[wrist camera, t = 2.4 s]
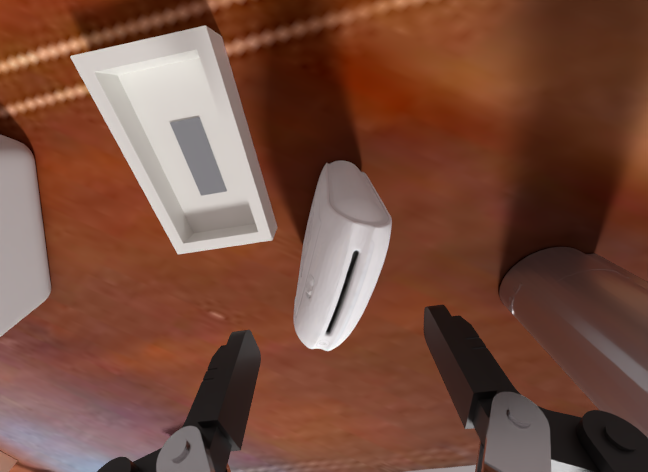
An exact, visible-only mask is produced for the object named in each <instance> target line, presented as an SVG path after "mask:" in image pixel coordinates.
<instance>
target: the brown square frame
mask: <svg viewBox="0 0 648 472" xmlns="http://www.w3.org/2000/svg"><path fill="white" fill-rule="evenodd" d="M16 462H17V460H15V459H14V458H12V457H10V456H8V455H6V454H5V453H3V452H1V451H0V472H9V471H10V469H11V468H12V467H13V466H14V465H15V464H16Z"/></svg>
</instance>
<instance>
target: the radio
mask: <svg viewBox="0 0 648 472" xmlns="http://www.w3.org/2000/svg"><path fill="white" fill-rule="evenodd" d="M50 292H51V282H50V274H49V266H48V259H47V251H46V243H45V235H44V227H43V220H42V212H41V204H40V196H39V189H38V181H37V173H36V165H35V159H34V156H33V154H32V152H31V150H30V149H29V148H28V147H27V146H26V145H25V144H23V143H21V142H19V141H16V140H14V139H11V138H9V137H6V136H3V135H1V134H0V337H1V336H2V335H3V334H4V333H6V332H7V331H8V330H9V329H11V328H12V327H13V326H14V325H15V324H17V323H18V322H19V321H20V320H22V319H23V318H24V317H25V316H27V315H28V314H29V313H30V312H32V311H33V310H34V309H35V308H37V307H38V306H39V305H40V304H42V303H43V302H44V301H45V300H46V299H47V298H48V296H49V295H50Z"/></svg>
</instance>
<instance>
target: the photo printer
mask: <svg viewBox="0 0 648 472" xmlns="http://www.w3.org/2000/svg"><path fill="white" fill-rule="evenodd" d="M391 224H392V219H391V216H390V214H389V213H388V211H387V209H386V207H385V206H384V204H383V202H382V200H381V199H380V197H379V195H378V193H377V192H376V190H375V188H374V187H373V185H372V183H371V181H370V180H369V178H368V177H367V175H366V174H365V173H364V172H360V170H359V169H358V168H357V166H355V165H354V164H352V163H351V162H348V161H342V160H341V161H335V162H332V163H331V164H328V163H326V164H325V166H324V168H323V170H322V172H321V174H320V177H319V180H318V183H317V187H316V191H315V195H314V198H313V202H312V206H311V210H310V215H309V219H308V223H307V228H306V232H305V238H304V241H303V250H302V257H301V264H300V272H299V279H298V286H297V293H296V297H295V305H294V326H295V330H296V333H297V335H298V337H299V339H300V340H301V341H302V343H303V344H304V345H306V346H307V347H308V348H310V349H315V348H319V349H323V350H325V351H330V350H332V349H334V348H336V347H337V346H339V345H340V344H341V343H342V342H343V341H344V340H345V339H346V338H347V337H348V336H349V335H350V333H351V332H352V330H353V329H354V328H355V326H356V324H357V323H358V321H359V319H360V318H361V316H362V314H363V312H364V310H365V308H366V306H367V304H368V301H369V299H370V297H371V295H372V292H373V290H374V288H375V285H376V282H377V280H378V277H379V274H380V272H381V269H382V266H383V263H384V259H385V256H386V253H387V249H388V245H389V240H390V234H391Z"/></svg>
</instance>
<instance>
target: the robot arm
mask: <svg viewBox="0 0 648 472" xmlns="http://www.w3.org/2000/svg"><path fill="white" fill-rule="evenodd" d="M499 295H500V299H501V301H502V302H503V304H504V305H505V306H506V307H507V308H508V309H509V311H510V312H511V313H512V314H513V315H514V316H515V317H516V318H517V319H518V320H519V322H520V323H521V324H522V325H523V326H524V327H525V328H526V329H527V330H528V332H529V333H530V334H531V335H532V336H533V337H534V338H535V339H536V340H537V342H538V343H539V344H540V345H541V346H542V347H543V348H544V349H545V350H546V351H547V353H548V354H549V355H550V356H551V357H552V358H553V359H554V360H555V361H556V362H557V364H558V365H559V366H560V367H561V368H562V369H563V370H564V371H565V372H566V373H567V375H568V376H569V377H570V378H571V379H572V380H573V381H574V382H575V383H576V384H577V386H578V387H579V388H580V389H581V390H582V391H583V392H584V393H585V394H586V395H587V397H588V398H589V399H590V400H591V401H592V402H593V403H594V404H595V405H596V406H597V408H598V409H599V410H593V411H589V412H587V413H586V414H585V415H584V416H583V417H582V418H581V417H576V416H572V415H567V414H563V413H558V412H554V411H550V410H546V409H543V408H541V407H539V406H537V405H535V404H534V403H533V402H532V401H530V400H529V399H527V398H526V397H524V396H522V395H521V394H520V393H519V392H518V391H517V390H516V389H515V388H514V386H513V385H512V383H511V382H510V381H509V379H508V378H507V376H506V375H505V373H504V372H503V370H502V369H501V367H500V366H499V365H498V363H497V362H496V360H495V359H494V357H493V356H492V354H491V353H490V351H489V350H488V349H487V348H486V346H485V344H484V343H483V341H482V340H481V339H480V338H479V335H478V334H477V333H476V331H475V330H474V328H473V327H472V325H471V324H470V323H468V322H467V321H466V320H464V319H463V318H462V317H461V316H451V315H450V313H449V311H448V310H447V308H446V307H445V306H444V305H436V306H429V307H425V311H424V336H425V340H426V343H427V345H428V347H429V350H430V352H431V354H432V356H433V359H434V361H435V363H436V365H437V368H438V370H439V372H440V374H441V376H442V379H443V381H444V383H445V385H446V388H447V390H448V392H449V394H450V396H451V399H452V401H453V403H454V405H455V408H456V410H457V412H458V414H459V417H460V419H461V421H462V423H463V425H464V428H465V429H470V428H475V430H476V432H477V434H478V436H479V438H480V444H479V450H478V457H477V463H476V470H475V472H648V282H647V281H645V280H643V279H641V278H640V277H638V276H636V275H634V274H632V273H630V272H629V271H627V270H625V269H623V268H621V267H619V266H617V265H616V264H614V263H612V262H610V261H608V260H606V259H605V258H603V257H601V256H599V255H597V254H595V253H593V254H584V253H583V252H581V251H579V250H577V249H574V248H570V247H553V248H548V249H544V250H541V251H538V252H536V253H534V254H531V255H529V256H528V257H526V258H524V259H523V260H521V261H520V262H518V263H517V264H516V265H515V266H513V267H512V268H511V270H510V271H509V272H508V273H507V274H506V276H505V277H504V279H503V280H502V283H501V285H500V291H499ZM260 361H261V355H260V350H259V348H258V346H257V344H256V341H255V339H254V337H253V335H252V333H251V331H250V330H244V331H237V332H232V333H231V335H230V337H229V340H228V342H227V345H224V346H221V347H220V348H219V349H218V351H217V352H216V353H215V354H214V356H213V357H212V359H211V362H210V364H209V367H208V371H206V374H205V376H204V378H203V382H202V383H201V386H200V388H199V390H198V393H197V395H196V397H195V400H194V402H193V405H192V407H191V409H190V412H189V414H188V416H187V419H186V421H185V423H184V425H183V427H182V428H181V429H179V430H178V431H176V432H175V433H174V434H173V435H172V436H171V437H170V438H169V439H168V440H167V441H166V443H165V444H164V445H163V447H162V448H161V449H159V450H157V451H155V452H153V453H151V454H148V455H146V456H144V457H142V458H140V459H138V460H136V461H134V462H132V461H130V460H129V459H128V458H126V457H118V458H115V459H113V460H111V461H109V462H108V463H106V464H105V465H104V466H103V467H101V468H100V469H99V470H98V471H97V472H231V471H230V468H229V465H228V459H229V455H230V451H238V450H241V446H242V442H243V438H244V433H245V429H246V424H247V420H248V416H249V411H250V407H251V402H252V398H253V394H254V389H255V385H256V380H257V376H258V371H259V367H260Z"/></svg>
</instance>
